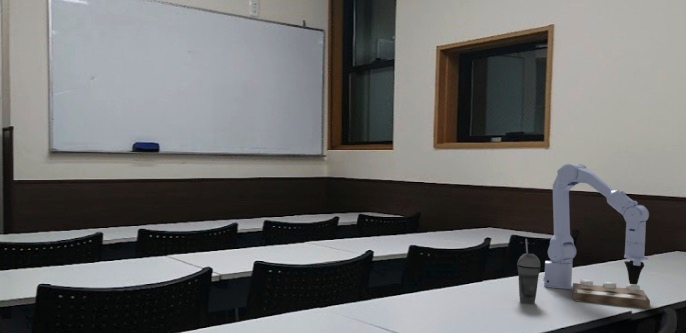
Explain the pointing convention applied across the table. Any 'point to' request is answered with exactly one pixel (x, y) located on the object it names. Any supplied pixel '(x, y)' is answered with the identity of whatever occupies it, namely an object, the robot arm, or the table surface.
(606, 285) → the button middle
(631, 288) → the button right
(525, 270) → the beverage cup
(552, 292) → the table surface
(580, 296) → the button board
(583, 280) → the button left
